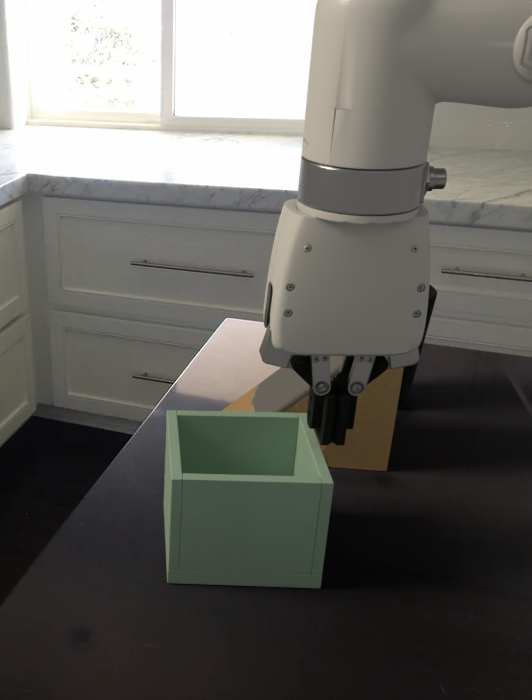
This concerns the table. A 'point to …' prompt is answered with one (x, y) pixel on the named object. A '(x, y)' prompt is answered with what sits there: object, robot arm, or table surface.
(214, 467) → the bin
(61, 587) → the table surface
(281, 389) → the sandwich container
